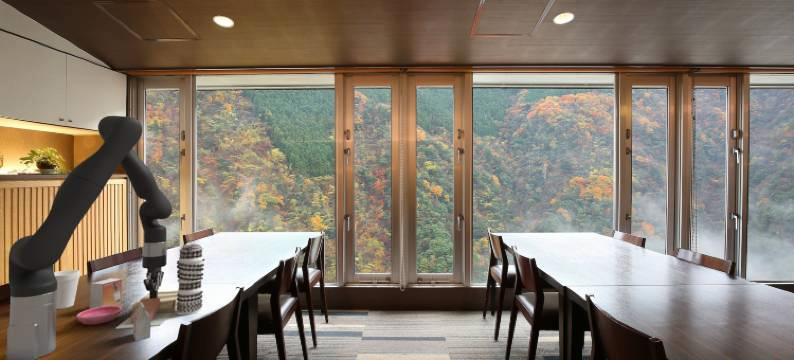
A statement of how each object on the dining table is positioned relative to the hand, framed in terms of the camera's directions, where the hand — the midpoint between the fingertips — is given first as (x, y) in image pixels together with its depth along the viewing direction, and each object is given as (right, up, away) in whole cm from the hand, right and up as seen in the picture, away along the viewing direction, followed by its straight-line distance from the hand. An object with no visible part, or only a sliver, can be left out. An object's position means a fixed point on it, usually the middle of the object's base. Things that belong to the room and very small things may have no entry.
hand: (153, 300), depth 132 cm
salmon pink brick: (+1, -3, -5) cm, 5 cm away
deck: (-2, -5, +7) cm, 9 cm away
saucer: (-15, -5, -6) cm, 17 cm away
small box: (-22, -5, +6) cm, 24 cm away
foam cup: (-40, -5, +7) cm, 41 cm away
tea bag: (+9, -5, -19) cm, 22 cm away
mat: (+2, -5, -6) cm, 8 cm away
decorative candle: (+11, -6, +4) cm, 13 cm away
